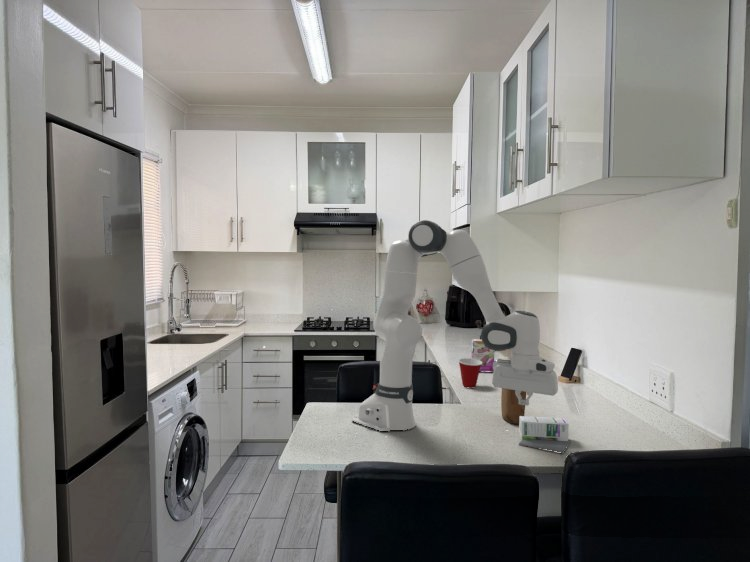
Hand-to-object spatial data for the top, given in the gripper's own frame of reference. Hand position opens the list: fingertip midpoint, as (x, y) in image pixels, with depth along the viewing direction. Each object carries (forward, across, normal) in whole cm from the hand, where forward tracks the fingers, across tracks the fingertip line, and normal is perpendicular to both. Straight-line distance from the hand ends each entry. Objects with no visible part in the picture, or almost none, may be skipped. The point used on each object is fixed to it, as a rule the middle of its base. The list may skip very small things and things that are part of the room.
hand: (523, 404), depth 157 cm
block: (+11, -8, +17) cm, 22 cm away
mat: (+11, +7, 0) cm, 13 cm away
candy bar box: (+11, -44, +85) cm, 96 cm away
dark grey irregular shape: (+11, -65, +149) cm, 163 cm away
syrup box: (+8, -1, +1) cm, 8 cm away
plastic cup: (+11, -38, +52) cm, 66 cm away
